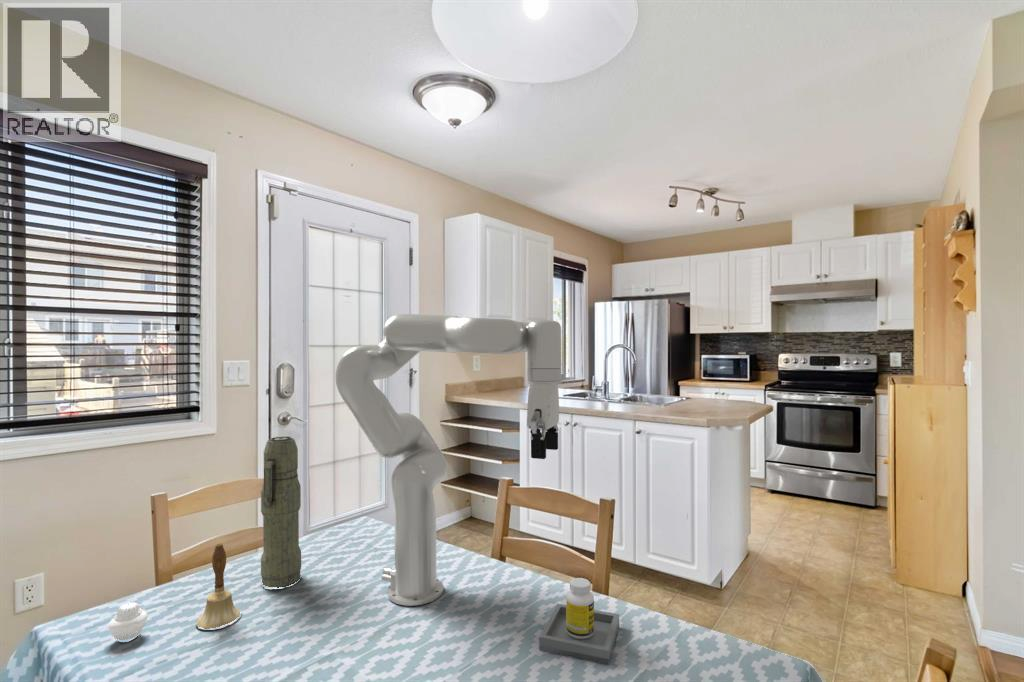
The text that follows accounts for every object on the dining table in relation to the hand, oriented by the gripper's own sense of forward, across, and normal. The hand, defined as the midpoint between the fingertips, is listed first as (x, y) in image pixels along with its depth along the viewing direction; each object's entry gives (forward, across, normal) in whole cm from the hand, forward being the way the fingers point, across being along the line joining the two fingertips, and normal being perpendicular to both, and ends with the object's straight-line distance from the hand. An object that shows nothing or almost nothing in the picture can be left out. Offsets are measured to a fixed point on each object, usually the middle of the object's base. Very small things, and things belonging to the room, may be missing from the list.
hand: (545, 453), depth 112 cm
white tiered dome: (+34, +40, -74) cm, 91 cm away
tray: (+33, +10, +10) cm, 36 cm away
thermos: (+34, +11, -64) cm, 73 cm away
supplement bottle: (+32, +10, +10) cm, 35 cm away
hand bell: (+34, +29, -63) cm, 77 cm away
